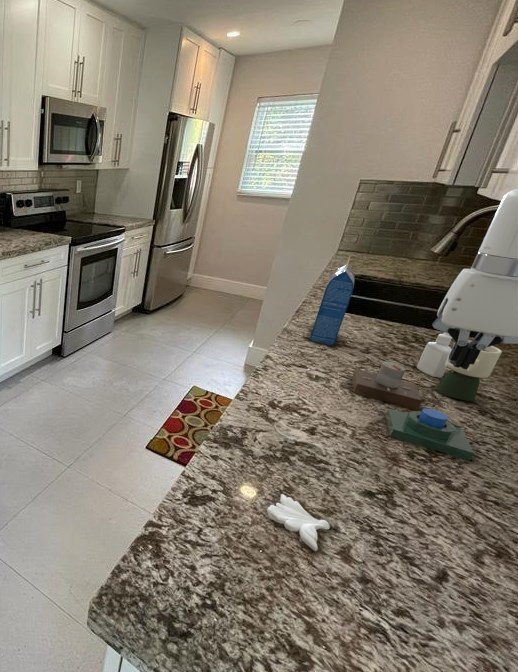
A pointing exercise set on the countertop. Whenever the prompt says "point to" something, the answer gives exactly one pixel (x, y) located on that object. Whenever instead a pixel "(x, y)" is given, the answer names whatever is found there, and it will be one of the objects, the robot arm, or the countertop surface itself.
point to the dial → (390, 374)
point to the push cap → (433, 418)
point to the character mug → (468, 375)
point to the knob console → (386, 390)
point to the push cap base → (428, 434)
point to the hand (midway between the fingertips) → (458, 365)
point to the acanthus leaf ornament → (297, 520)
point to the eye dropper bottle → (435, 356)
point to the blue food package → (333, 306)
